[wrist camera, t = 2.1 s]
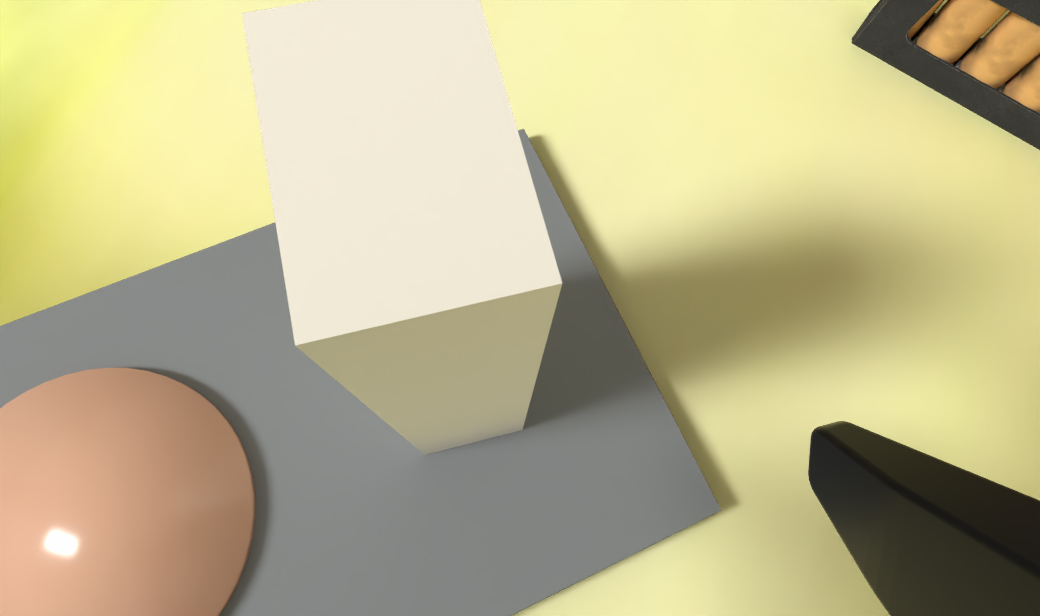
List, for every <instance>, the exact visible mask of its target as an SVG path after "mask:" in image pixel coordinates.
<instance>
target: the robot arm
mask: <svg viewBox="0 0 1040 616" xmlns="http://www.w3.org/2000/svg"><path fill="white" fill-rule="evenodd" d="M808 475H809V481H810V484H811V487H812V489H813V491H814V493H815V495H816V497H817V498H818V500H819V502H820V503H821V505H822V507H823V508H824V510H825V512H826V513H827V515H828V517H829V518H830V520H831V522H832V523H833V525H834V527H835V528H836V530H837V532H838V533H839V535H840V537H841V538H842V540H843V542H844V544H845V545H846V547H847V549H848V550H849V552H850V554H851V555H852V557H853V559H854V560H855V562H856V564H857V565H858V567H859V569H860V570H861V572H862V574H863V575H864V577H865V579H866V580H867V582H868V583H869V585H870V587H871V588H872V590H873V591H874V593H875V594H876V596H877V597H878V599H879V600H880V601H881V603H882V604H883V606H884V607H885V609H886V610H887V611H888V613H889V614H890V615H891V616H1040V501H1039V500H1037V499H1035V498H1032V497H1030V496H1027V495H1025V494H1022V493H1020V492H1017V491H1015V490H1013V489H1010V488H1008V487H1005V486H1003V485H1000V484H998V483H995V482H993V481H991V480H988V479H986V478H983V477H981V476H978V475H976V474H974V473H971V472H969V471H966V470H964V469H961V468H959V467H956V466H954V465H952V464H949V463H947V462H944V461H942V460H939V459H937V458H935V457H932V456H930V455H927V454H925V453H922V452H920V451H917V450H915V449H913V448H910V447H908V446H905V445H903V444H900V443H898V442H895V441H893V440H891V439H888V438H886V437H883V436H881V435H878V434H876V433H874V432H871V431H869V430H866V429H864V428H861V427H859V426H856V425H854V424H852V423H849V422H845V421H838V422H835V423H831V424H827V425H823V426H820V427H817V428H815V429H814V431H813V432H812V435H811V443H810V457H809V470H808Z"/></svg>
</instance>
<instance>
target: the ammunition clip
mask: <svg viewBox="0 0 1040 616" xmlns="http://www.w3.org/2000/svg"><path fill="white" fill-rule="evenodd" d="M943 1H944V0H880V1H879V2H878V3H877V4H876V6H875V7H874V8H873V9H872V10H871V12H870V13H869V15H868V16H867V18H866V19H865V21H864V22H863V23H862V25H861V26H860V28H859V29H858V31H857V32H856V34H855V35H854V36H853V38H852V43H853V44H854V45H856V46H858V47H860V48H861V49H863V50H865V51H867V52H868V53H870V54H872V55H874V56H875V57H877V58H879V59H881V60H882V61H884V62H886V63H888V64H890V65H891V66H893V67H895V68H897V69H898V70H900V71H902V72H904V73H905V74H907V75H909V76H911V77H912V78H914V79H916V80H918V81H919V82H921V83H923V84H925V85H926V86H928V87H930V88H932V89H934V90H935V91H937V92H939V93H941V94H942V95H944V96H946V97H948V98H949V99H951V100H953V101H955V102H956V103H958V104H960V105H962V106H963V107H965V108H967V109H969V110H970V111H972V112H974V113H976V114H977V115H979V116H981V117H983V118H985V119H986V120H988V121H990V122H992V123H993V124H995V125H997V126H999V127H1000V128H1002V129H1004V130H1006V131H1007V132H1009V133H1011V134H1013V135H1014V136H1016V137H1018V138H1020V139H1021V140H1023V141H1025V142H1027V143H1029V144H1030V145H1032V146H1034V147H1036V148H1037V149H1039V150H1040V0H948V1H947V2H946V3H945V4H944V6H943V7H942V8H941V9H940V10H939V11H938V12H937V14H936V13H934V12H935V10H936V9H937V8H938V7H939V6H940V5H941V3H942V2H943ZM1007 9H1008V10H1010V12H1009V13H1008V14H1007V15H1006V16H1005V17H1004V18H1003V19H1002V20H1001V21H1000V22H999V23H998V24H997V25H996V26H995V27H994V28H993V29H992V30H991V31H990V32H989V33H988V34H987V35H986V36H985V37H983V38H982V39H981V38H980V37H981V36H982V35H983V34H984V33H985V32H986V31H987V30H988V29H989V28H990V27H991V26H992V25H993V24H994V23H995V22H996V21H997V20H998V19H999V17H1000V16H1001V15H1002V14H1003V13H1004V12H1005V11H1006V10H1007ZM1036 55H1037V56H1036ZM1035 56H1036V57H1035ZM1034 57H1035V58H1034ZM1028 62H1029V63H1028ZM1027 63H1028V64H1027Z"/></svg>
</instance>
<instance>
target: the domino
mask: <svg viewBox="0 0 1040 616" xmlns="http://www.w3.org/2000/svg"><path fill="white" fill-rule="evenodd" d="M242 16H243V22H244V28H245V34H246V41H247V47H248V53H249V60H250V66H251V72H252V78H253V85H254V91H255V97H256V104H257V110H258V116H259V122H260V129H261V135H262V141H263V148H264V154H265V160H266V166H267V173H268V179H269V185H270V191H271V198H272V204H273V210H274V217H275V223H276V229H277V235H278V242H279V248H280V254H281V261H282V267H283V273H284V279H285V286H286V292H287V298H288V304H289V311H290V317H291V323H292V330H293V336H294V342H295V346H296V347H297V348H299V349H300V350H301V351H302V352H303V353H305V354H306V355H307V356H308V357H309V358H310V359H312V360H313V361H314V362H315V363H316V364H318V365H319V366H320V367H321V368H322V369H323V370H325V371H326V372H327V373H328V374H329V375H331V376H332V377H333V378H334V379H335V380H336V381H338V382H339V383H340V384H341V385H342V386H344V387H345V388H346V389H347V390H348V391H349V392H351V393H352V394H353V395H354V396H355V397H357V398H358V399H359V400H360V401H361V402H362V403H364V404H365V405H366V406H367V407H368V408H370V409H371V410H372V411H373V412H374V413H376V414H377V415H378V416H379V417H380V418H381V419H383V420H384V421H385V422H386V423H387V424H389V425H390V426H391V427H392V428H393V429H394V430H396V431H397V432H398V433H399V434H400V435H402V436H403V437H404V438H405V439H406V440H407V441H409V442H410V443H411V444H412V445H413V446H415V447H416V448H417V449H418V450H419V451H420V452H422V453H423V454H424V455H426V454H430V453H434V452H438V451H442V450H446V449H450V448H454V447H458V446H462V445H466V444H469V443H473V442H477V441H481V440H485V439H489V438H493V437H497V436H501V435H505V434H509V433H513V432H516V431H520V430H523V426H524V422H525V419H526V415H527V411H528V408H529V404H530V400H531V397H532V393H533V389H534V386H535V382H536V378H537V375H538V371H539V367H540V364H541V360H542V356H543V353H544V349H545V345H546V342H547V338H548V334H549V331H550V327H551V323H552V320H553V316H554V312H555V309H556V305H557V301H558V297H559V294H560V290H561V286H562V280H561V277H560V273H559V270H558V267H557V263H556V260H555V256H554V253H553V249H552V246H551V243H550V239H549V236H548V232H547V229H546V225H545V222H544V219H543V215H542V212H541V208H540V205H539V202H538V198H537V195H536V191H535V188H534V184H533V181H532V178H531V174H530V171H529V167H528V164H527V160H526V157H525V154H524V150H523V147H522V143H521V140H520V137H519V133H518V130H517V126H516V123H515V119H514V116H513V113H512V109H511V106H510V102H509V99H508V95H507V92H506V89H505V85H504V82H503V78H502V75H501V72H500V68H499V65H498V61H497V58H496V54H495V51H494V48H493V44H492V41H491V37H490V34H489V30H488V27H487V24H486V20H485V17H484V13H483V10H482V6H481V3H480V0H315V1H309V2H304V3H298V4H293V5H287V6H281V7H276V8H270V9H265V10H259V11H253V12H248V13H242Z"/></svg>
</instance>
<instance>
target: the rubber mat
mask: <svg viewBox="0 0 1040 616" xmlns="http://www.w3.org/2000/svg"><path fill="white" fill-rule="evenodd" d="M518 133H519V137H520V140H521V143H522V147H523V150H524V154H525V157H526V160H527V164H528V167H529V171H530V174H531V178H532V181H533V184H534V188H535V191H536V195H537V198H538V202H539V205H540V208H541V212H542V215H543V219H544V222H545V225H546V229H547V232H548V236H549V239H550V243H551V246H552V249H553V253H554V256H555V260H556V263H557V267H558V270H559V273H560V277H561V280H562V286H561V290H560V294H559V297H558V301H557V305H556V309H555V312H554V316H553V320H552V323H551V327H550V331H549V334H548V338H547V342H546V345H545V349H544V353H543V356H542V360H541V364H540V367H539V371H538V375H537V378H536V382H535V386H534V389H533V393H532V397H531V400H530V404H529V408H528V411H527V415H526V419H525V422H524V426H523V430H520V431H516V432H513V433H509V434H505V435H501V436H497V437H493V438H489V439H485V440H481V441H477V442H473V443H469V444H466V445H462V446H458V447H454V448H450V449H446V450H442V451H438V452H434V453H430V454H426V455H424V454H423V453H422V452H420V451H419V450H418V449H417V448H416V447H415V446H413V445H412V444H411V443H410V442H409V441H407V440H406V439H405V438H404V437H403V436H402V435H400V434H399V433H398V432H397V431H396V430H394V429H393V428H392V427H391V426H390V425H389V424H387V423H386V422H385V421H384V420H383V419H381V418H380V417H379V416H378V415H377V414H376V413H374V412H373V411H372V410H371V409H370V408H368V407H367V406H366V405H365V404H364V403H362V402H361V401H360V400H359V399H358V398H357V397H355V396H354V395H353V394H352V393H351V392H349V391H348V390H347V389H346V388H345V387H344V386H342V385H341V384H340V383H339V382H338V381H336V380H335V379H334V378H333V377H332V376H331V375H329V374H328V373H327V372H326V371H325V370H323V369H322V368H321V367H320V366H319V365H318V364H316V363H315V362H314V361H313V360H312V359H310V358H309V357H308V356H307V355H306V354H305V353H303V352H302V351H301V350H300V349H299V348H297V347H296V346H295V342H294V336H293V330H292V323H291V317H290V311H289V304H288V298H287V292H286V286H285V279H284V273H283V267H282V261H281V254H280V248H279V242H278V235H277V229H276V223H272V224H270V225H267V226H264V227H262V228H259V229H256V230H254V231H251V232H249V233H246V234H243V235H241V236H238V237H235V238H233V239H230V240H227V241H225V242H222V243H219V244H217V245H214V246H211V247H209V248H206V249H203V250H201V251H198V252H196V253H193V254H190V255H188V256H185V257H182V258H180V259H177V260H174V261H172V262H169V263H166V264H164V265H161V266H158V267H156V268H153V269H150V270H148V271H145V272H143V273H140V274H137V275H135V276H132V277H129V278H127V279H124V280H121V281H119V282H116V283H113V284H111V285H108V286H105V287H103V288H100V289H97V290H95V291H92V292H90V293H87V294H84V295H82V296H79V297H76V298H74V299H71V300H68V301H66V302H63V303H60V304H58V305H55V306H52V307H50V308H47V309H44V310H42V311H39V312H36V313H34V314H31V315H29V316H26V317H23V318H21V319H18V320H15V321H13V322H10V323H7V324H5V325H2V326H0V408H1V407H3V406H4V405H5V404H7V403H8V402H10V401H12V400H13V399H15V398H16V397H18V396H20V395H21V394H23V393H24V392H26V391H28V390H30V389H32V388H34V387H36V386H38V385H40V384H43V383H45V382H47V381H50V380H53V379H56V378H58V377H61V376H64V375H67V374H71V373H76V372H80V371H84V370H91V369H100V368H131V369H138V370H145V371H149V372H153V373H156V374H160V375H163V376H166V377H169V378H171V379H173V380H175V381H178V382H180V383H182V384H184V385H187V386H189V387H190V388H192V389H193V390H195V391H197V392H198V393H200V394H201V395H203V396H204V397H206V398H207V399H208V400H209V401H210V402H211V403H212V404H214V405H215V406H216V407H217V408H218V409H219V410H220V411H221V412H222V414H223V415H224V416H225V417H226V418H227V419H228V421H229V422H230V423H231V425H232V426H233V428H234V430H235V431H236V433H237V434H238V436H239V438H240V440H241V442H242V444H243V446H244V449H245V451H246V453H247V455H248V459H249V462H250V466H251V470H252V473H253V479H254V486H255V493H256V519H255V527H254V536H253V541H252V545H251V549H250V553H249V557H248V561H247V563H246V566H245V569H244V571H243V574H242V577H241V579H240V582H239V584H238V586H237V588H236V590H235V592H234V594H233V596H232V598H231V599H230V601H229V603H228V605H227V606H226V608H225V609H224V611H223V612H222V614H221V615H220V616H510V615H512V614H514V613H516V612H518V611H520V610H522V609H524V608H526V607H528V606H530V605H532V604H534V603H536V602H538V601H540V600H542V599H544V598H546V597H548V596H550V595H552V594H554V593H556V592H558V591H560V590H562V589H564V588H566V587H568V586H570V585H572V584H574V583H576V582H578V581H580V580H582V579H584V578H586V577H588V576H590V575H592V574H594V573H596V572H598V571H600V570H602V569H604V568H606V567H608V566H610V565H612V564H614V563H616V562H618V561H620V560H622V559H624V558H626V557H628V556H630V555H632V554H634V553H636V552H638V551H640V550H642V549H644V548H646V547H648V546H650V545H652V544H654V543H656V542H658V541H660V540H662V539H664V538H666V537H668V536H670V535H672V534H674V533H676V532H678V531H680V530H682V529H684V528H686V527H688V526H690V525H692V524H694V523H696V522H698V521H700V520H702V519H704V518H706V517H708V516H710V515H712V514H714V513H716V512H718V511H720V510H721V508H720V506H719V505H718V503H717V501H716V499H715V497H714V495H713V493H712V491H711V489H710V487H709V485H708V483H707V481H706V479H705V478H704V476H703V474H702V472H701V470H700V468H699V466H698V464H697V462H696V460H695V458H694V456H693V454H692V452H691V451H690V449H689V447H688V445H687V443H686V441H685V439H684V437H683V435H682V433H681V431H680V429H679V427H678V425H677V424H676V422H675V420H674V418H673V416H672V414H671V412H670V410H669V408H668V406H667V404H666V402H665V400H664V398H663V397H662V395H661V393H660V391H659V389H658V387H657V385H656V383H655V381H654V379H653V377H652V375H651V373H650V371H649V370H648V368H647V366H646V364H645V362H644V360H643V358H642V356H641V354H640V352H639V350H638V348H637V346H636V344H635V343H634V341H633V339H632V337H631V335H630V333H629V331H628V329H627V327H626V325H625V323H624V321H623V319H622V317H621V316H620V314H619V312H618V310H617V308H616V306H615V304H614V302H613V300H612V298H611V296H610V294H609V292H608V290H607V289H606V287H605V285H604V283H603V281H602V279H601V277H600V275H599V273H598V271H597V269H596V267H595V265H594V264H593V262H592V260H591V258H590V256H589V254H588V252H587V250H586V248H585V246H584V244H583V242H582V240H581V238H580V237H579V235H578V233H577V231H576V229H575V227H574V225H573V223H572V221H571V219H570V217H569V215H568V213H567V211H566V210H565V208H564V206H563V204H562V202H561V200H560V198H559V196H558V194H557V192H556V190H555V188H554V186H553V184H552V183H551V181H550V179H549V177H548V175H547V173H546V171H545V169H544V167H543V165H542V163H541V161H540V159H539V157H538V156H537V154H536V152H535V150H534V148H533V146H532V144H531V142H530V140H529V138H528V136H527V134H526V132H525V130H524V129H522V130H519V131H518Z"/></svg>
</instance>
